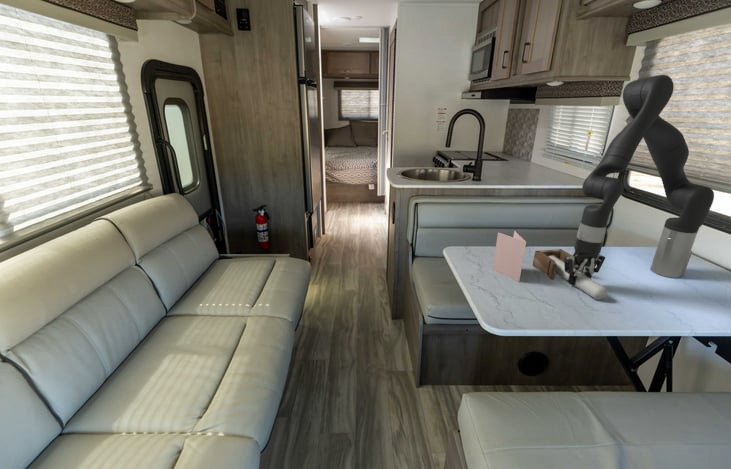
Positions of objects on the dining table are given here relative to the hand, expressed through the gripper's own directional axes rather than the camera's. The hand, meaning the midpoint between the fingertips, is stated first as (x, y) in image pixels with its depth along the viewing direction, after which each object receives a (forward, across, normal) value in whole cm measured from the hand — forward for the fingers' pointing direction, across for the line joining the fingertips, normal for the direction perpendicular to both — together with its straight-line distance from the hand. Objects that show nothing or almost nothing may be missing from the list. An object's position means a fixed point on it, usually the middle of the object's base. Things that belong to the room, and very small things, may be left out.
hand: (578, 283), depth 122 cm
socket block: (+1, 0, -11) cm, 11 cm away
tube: (+1, 0, -2) cm, 2 cm away
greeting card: (+1, +20, -12) cm, 23 cm away
